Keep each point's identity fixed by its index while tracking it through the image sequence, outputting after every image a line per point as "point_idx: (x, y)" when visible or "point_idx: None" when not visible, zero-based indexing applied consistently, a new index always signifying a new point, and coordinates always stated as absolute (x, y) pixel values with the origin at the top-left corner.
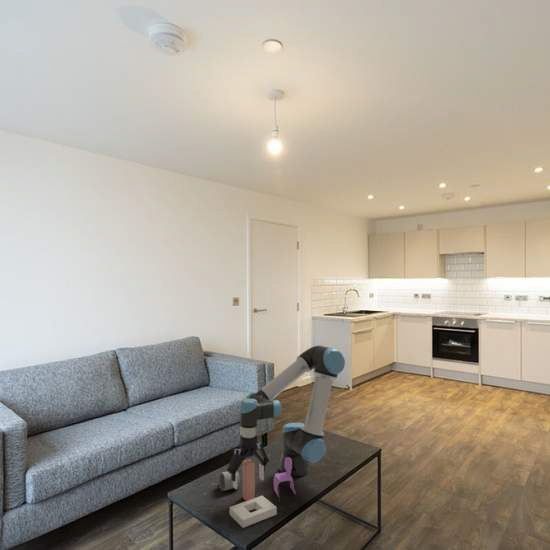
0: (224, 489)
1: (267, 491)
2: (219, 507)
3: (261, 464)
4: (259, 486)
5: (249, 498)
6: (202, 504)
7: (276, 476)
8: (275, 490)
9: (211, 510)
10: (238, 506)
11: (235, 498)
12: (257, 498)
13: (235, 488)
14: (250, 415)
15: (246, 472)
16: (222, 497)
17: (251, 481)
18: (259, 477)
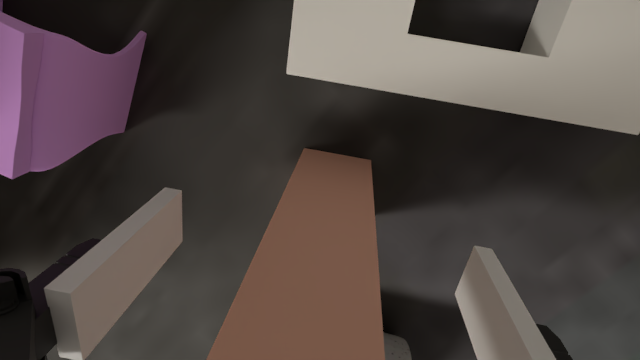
0: (405, 340)
1: (173, 153)
2: (557, 233)
3: (62, 329)
4: (184, 234)
5: (349, 160)
6: (592, 324)
7: (16, 127)
8: (124, 98)
9: (622, 243)
10: (580, 83)
11: (400, 239)
12: (354, 63)
13: (491, 258)
14: None
15: (378, 331)
16: (448, 299)
17: (317, 221)
18: (178, 241)
